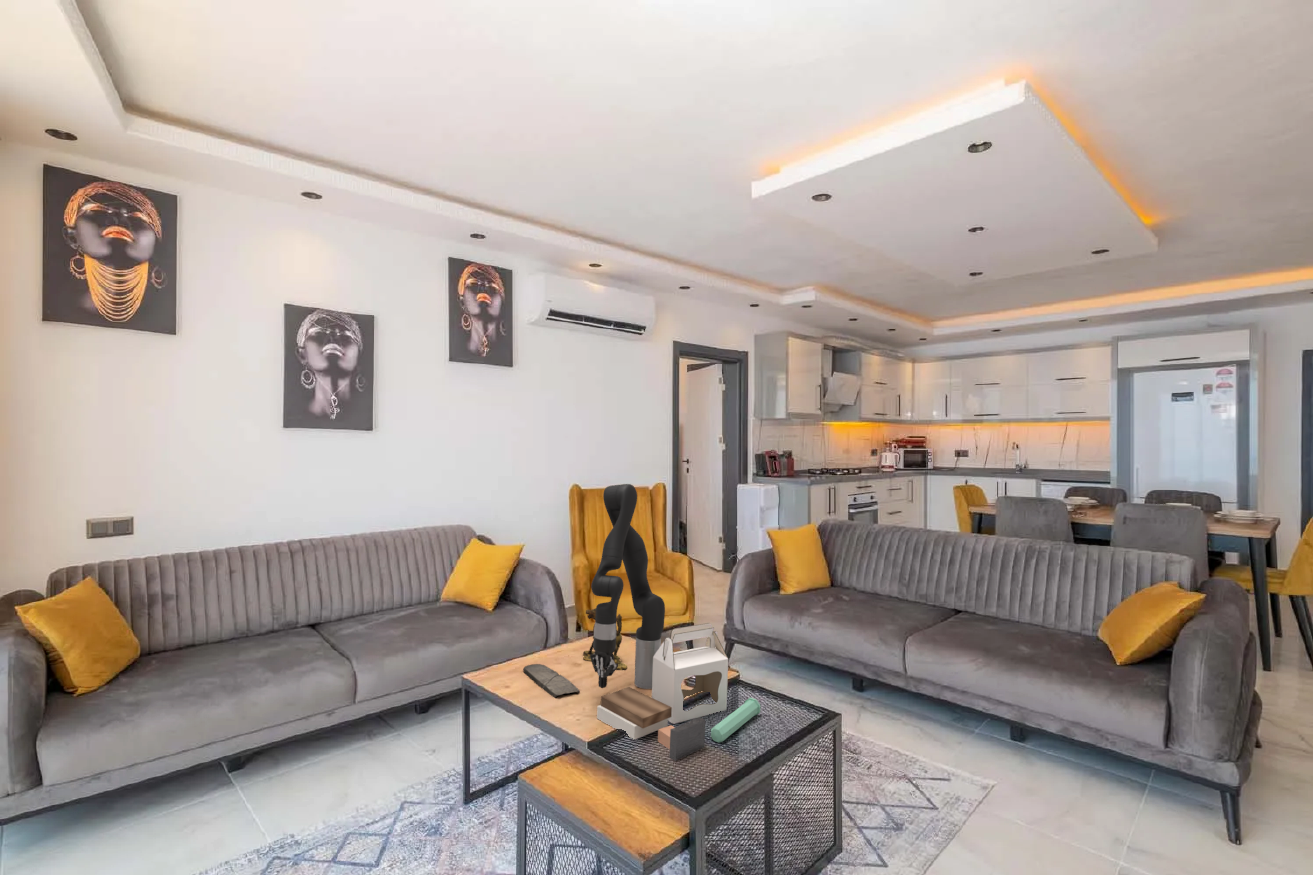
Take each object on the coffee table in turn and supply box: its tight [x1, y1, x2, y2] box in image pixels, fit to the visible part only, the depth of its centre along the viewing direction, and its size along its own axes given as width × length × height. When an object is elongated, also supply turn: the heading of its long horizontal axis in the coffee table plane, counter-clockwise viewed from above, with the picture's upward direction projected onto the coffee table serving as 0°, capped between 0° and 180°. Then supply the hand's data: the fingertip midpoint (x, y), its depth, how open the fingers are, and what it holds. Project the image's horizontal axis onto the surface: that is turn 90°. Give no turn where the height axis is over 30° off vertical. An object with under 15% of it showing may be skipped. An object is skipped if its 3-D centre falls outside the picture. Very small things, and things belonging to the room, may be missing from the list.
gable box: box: [651, 622, 729, 725], centre depth 209 cm, size 22×13×28 cm, turn 122°
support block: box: [657, 725, 676, 750], centre depth 186 cm, size 5×6×4 cm
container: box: [710, 697, 762, 744], centre depth 197 cm, size 6×6×25 cm
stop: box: [669, 717, 706, 762], centre depth 181 cm, size 12×2×8 cm, turn 134°
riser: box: [596, 704, 669, 740], centre depth 198 cm, size 14×18×4 cm
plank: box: [600, 686, 672, 728], centre depth 197 cm, size 12×20×3 cm, turn 44°
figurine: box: [582, 607, 628, 671], centre depth 250 cm, size 13×25×20 cm, turn 42°
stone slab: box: [522, 663, 581, 699], centre depth 228 cm, size 10×3×30 cm
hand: (602, 686), depth 209 cm, fingers closed
